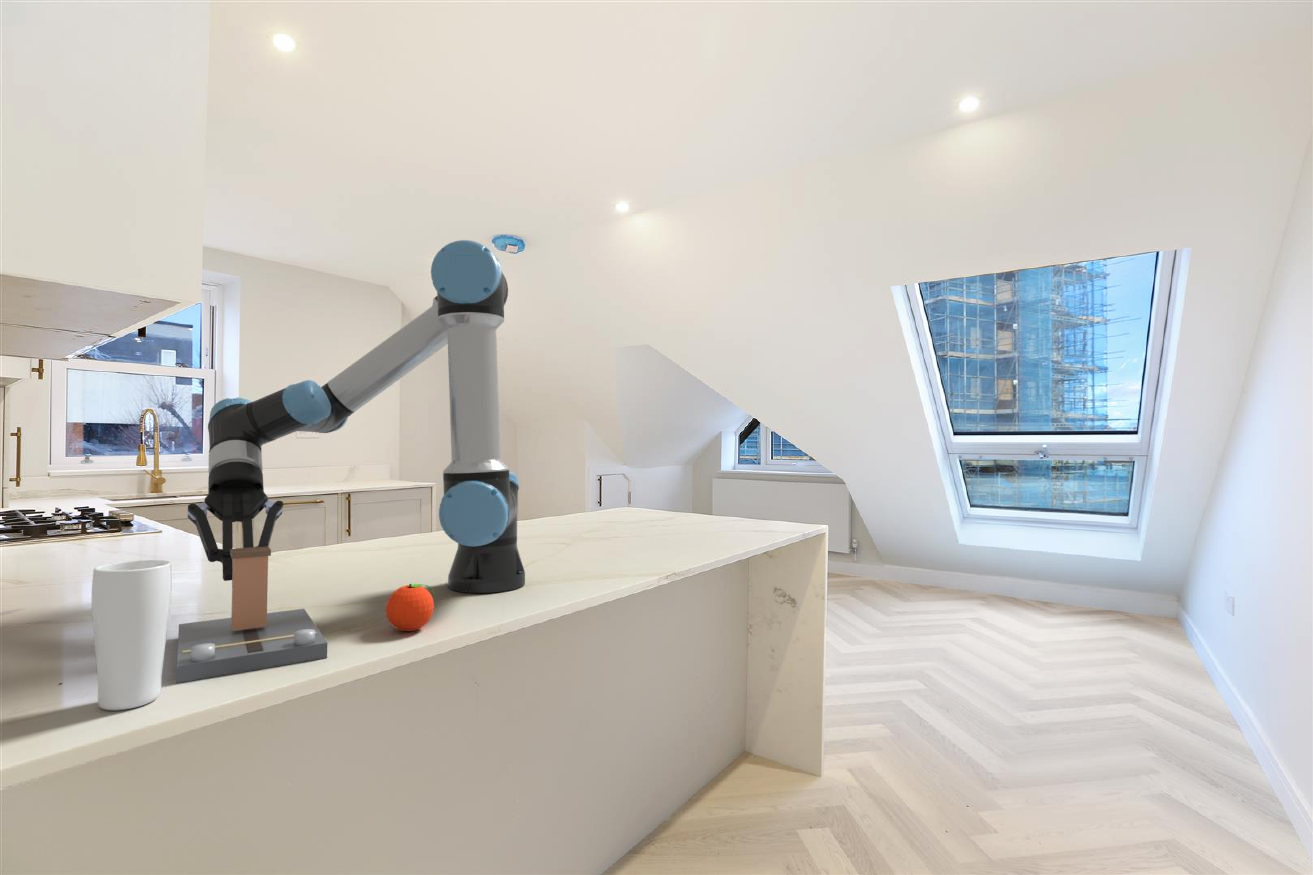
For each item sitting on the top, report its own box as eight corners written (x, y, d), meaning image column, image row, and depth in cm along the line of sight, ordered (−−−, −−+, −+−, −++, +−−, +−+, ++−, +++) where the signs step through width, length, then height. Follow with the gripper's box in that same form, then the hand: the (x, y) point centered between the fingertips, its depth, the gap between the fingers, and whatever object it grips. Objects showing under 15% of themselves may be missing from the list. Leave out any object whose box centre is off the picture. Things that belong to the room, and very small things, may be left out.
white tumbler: (76, 707, 68) (80, 566, 68) (150, 686, 74) (153, 557, 74) (106, 720, 65) (110, 573, 65) (181, 697, 71) (184, 563, 71)
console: (303, 621, 101) (304, 599, 101) (327, 657, 84) (327, 631, 84) (178, 637, 92) (179, 613, 92) (176, 683, 75) (177, 653, 75)
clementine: (420, 620, 103) (421, 576, 103) (448, 627, 99) (449, 581, 99) (375, 631, 96) (376, 584, 96) (404, 640, 93) (405, 591, 93)
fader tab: (266, 619, 93) (268, 546, 93) (269, 626, 90) (271, 550, 90) (228, 624, 90) (230, 548, 90) (230, 631, 87) (231, 552, 87)
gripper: (279, 487, 111) (288, 604, 98) (187, 490, 104) (182, 617, 90) (283, 459, 107) (293, 576, 93) (187, 459, 99) (182, 587, 86)
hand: (239, 596), depth 92 cm, fingers closed
